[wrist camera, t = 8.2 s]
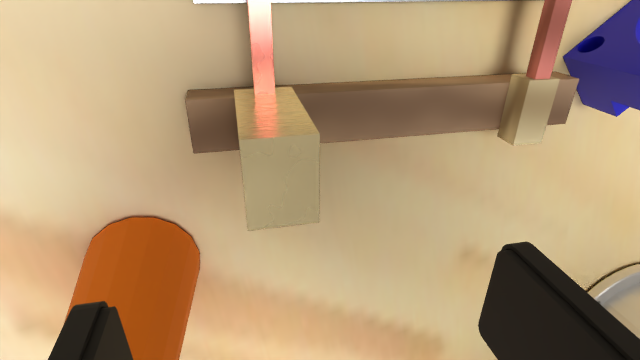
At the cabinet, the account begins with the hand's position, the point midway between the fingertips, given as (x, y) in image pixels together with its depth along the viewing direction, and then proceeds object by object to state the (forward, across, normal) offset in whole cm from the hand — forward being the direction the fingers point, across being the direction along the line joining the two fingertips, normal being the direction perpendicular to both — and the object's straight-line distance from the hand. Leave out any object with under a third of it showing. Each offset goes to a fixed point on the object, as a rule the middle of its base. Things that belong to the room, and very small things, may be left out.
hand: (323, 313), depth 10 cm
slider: (+14, 0, -3) cm, 14 cm away
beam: (+16, -8, -3) cm, 18 cm away
